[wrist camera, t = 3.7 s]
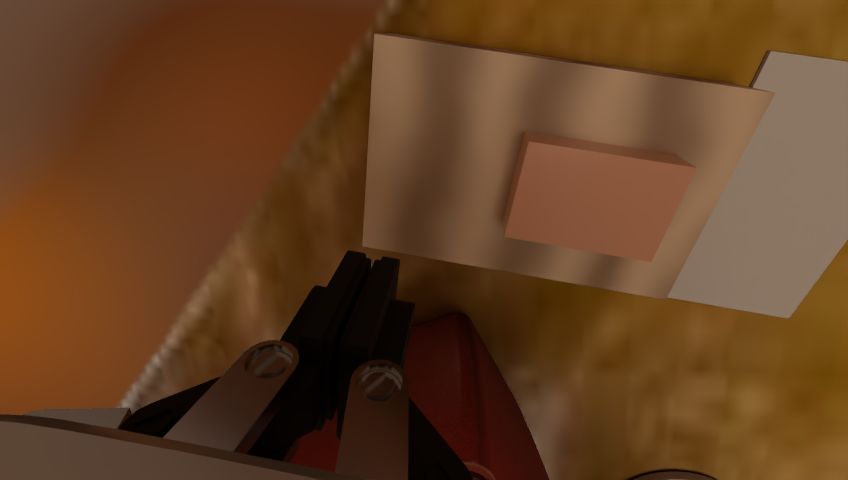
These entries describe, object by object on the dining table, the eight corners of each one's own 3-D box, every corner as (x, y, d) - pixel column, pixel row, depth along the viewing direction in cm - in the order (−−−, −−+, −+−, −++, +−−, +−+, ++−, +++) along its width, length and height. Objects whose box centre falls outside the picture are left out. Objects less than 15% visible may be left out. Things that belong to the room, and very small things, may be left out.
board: (733, 83, 25) (775, 92, 21) (645, 269, 31) (665, 299, 28) (388, 32, 26) (374, 33, 22) (375, 222, 33) (362, 246, 29)
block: (676, 154, 23) (696, 167, 21) (637, 242, 26) (651, 262, 24) (524, 130, 24) (528, 141, 22) (502, 219, 27) (504, 236, 24)
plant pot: (397, 449, 47) (357, 644, 32) (305, 332, 40) (200, 513, 25) (556, 415, 40) (600, 636, 26) (481, 269, 33) (482, 459, 19)
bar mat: (961, 78, 23) (967, 78, 23) (786, 316, 32) (788, 318, 32) (768, 50, 24) (771, 50, 23) (647, 291, 32) (649, 294, 32)
